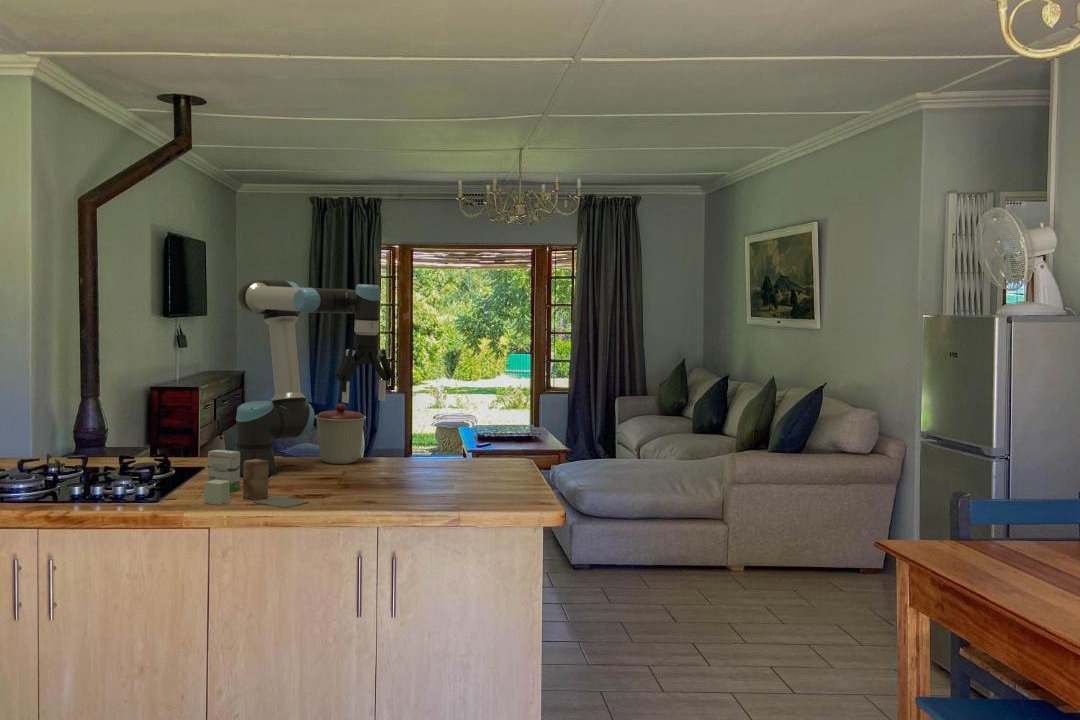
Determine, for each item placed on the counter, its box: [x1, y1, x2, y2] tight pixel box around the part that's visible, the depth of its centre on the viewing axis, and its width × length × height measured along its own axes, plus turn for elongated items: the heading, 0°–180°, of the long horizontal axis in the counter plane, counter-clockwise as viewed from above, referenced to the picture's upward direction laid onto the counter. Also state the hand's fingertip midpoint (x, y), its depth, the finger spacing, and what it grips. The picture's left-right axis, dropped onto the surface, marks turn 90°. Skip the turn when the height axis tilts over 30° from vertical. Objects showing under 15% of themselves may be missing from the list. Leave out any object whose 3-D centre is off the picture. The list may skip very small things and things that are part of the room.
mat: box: [252, 496, 307, 509], centre depth 296 cm, size 12×10×1 cm
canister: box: [315, 403, 367, 465], centre depth 368 cm, size 18×18×21 cm
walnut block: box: [242, 459, 269, 501], centre depth 300 cm, size 5×5×11 cm
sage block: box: [203, 480, 231, 506], centre depth 293 cm, size 5×5×6 cm
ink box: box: [206, 449, 241, 493], centre depth 311 cm, size 9×5×12 cm, turn 71°
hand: (363, 401), depth 322 cm, fingers open, 13 cm apart
